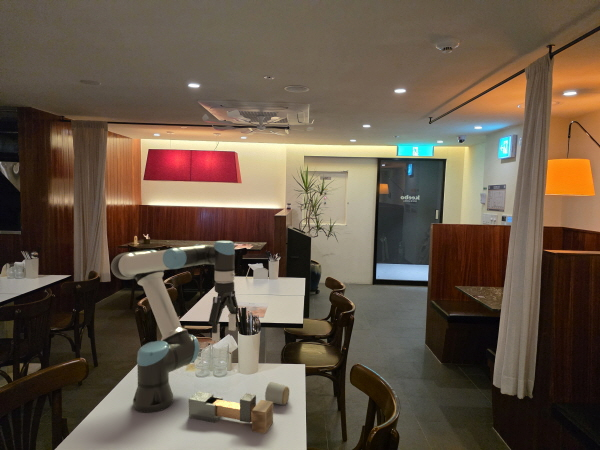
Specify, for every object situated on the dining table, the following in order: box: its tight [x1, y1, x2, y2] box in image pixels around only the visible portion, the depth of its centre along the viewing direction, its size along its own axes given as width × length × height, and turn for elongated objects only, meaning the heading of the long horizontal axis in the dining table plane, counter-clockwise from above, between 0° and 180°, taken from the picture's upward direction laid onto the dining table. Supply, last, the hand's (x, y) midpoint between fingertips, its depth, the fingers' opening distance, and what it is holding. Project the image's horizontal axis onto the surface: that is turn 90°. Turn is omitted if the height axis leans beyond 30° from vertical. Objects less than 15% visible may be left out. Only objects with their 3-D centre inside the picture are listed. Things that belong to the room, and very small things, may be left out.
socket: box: [251, 399, 274, 434], centre depth 150 cm, size 5×8×8 cm, turn 163°
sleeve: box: [188, 391, 224, 423], centre depth 156 cm, size 11×6×7 cm, turn 73°
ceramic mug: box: [264, 381, 290, 405], centre depth 169 cm, size 11×8×8 cm
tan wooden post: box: [213, 392, 257, 424], centre depth 152 cm, size 20×5×8 cm, turn 73°
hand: (224, 335), depth 161 cm, fingers open, 13 cm apart
